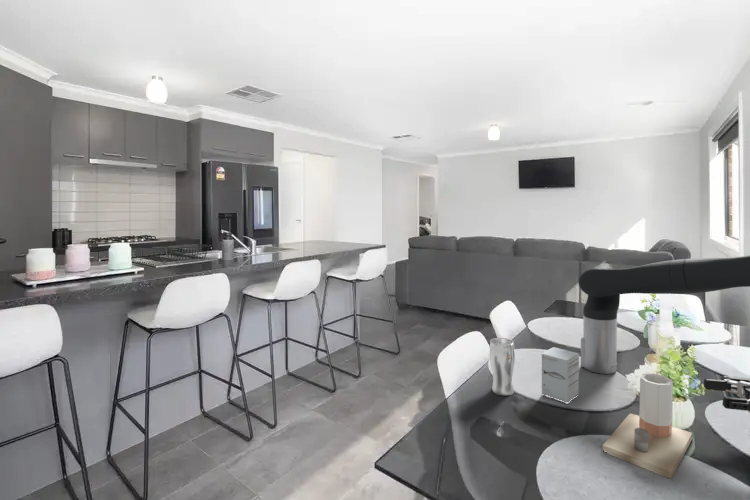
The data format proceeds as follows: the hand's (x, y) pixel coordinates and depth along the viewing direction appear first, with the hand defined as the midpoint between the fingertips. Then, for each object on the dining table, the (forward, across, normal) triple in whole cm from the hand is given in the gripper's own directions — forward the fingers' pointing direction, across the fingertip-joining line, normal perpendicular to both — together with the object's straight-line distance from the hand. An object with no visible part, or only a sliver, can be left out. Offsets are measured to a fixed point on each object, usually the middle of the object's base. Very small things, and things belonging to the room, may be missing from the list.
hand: (713, 392), depth 84 cm
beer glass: (+44, -13, +12) cm, 47 cm away
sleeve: (+11, +1, +10) cm, 14 cm away
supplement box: (+29, -14, +12) cm, 34 cm away
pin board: (+13, +5, +11) cm, 18 cm away
